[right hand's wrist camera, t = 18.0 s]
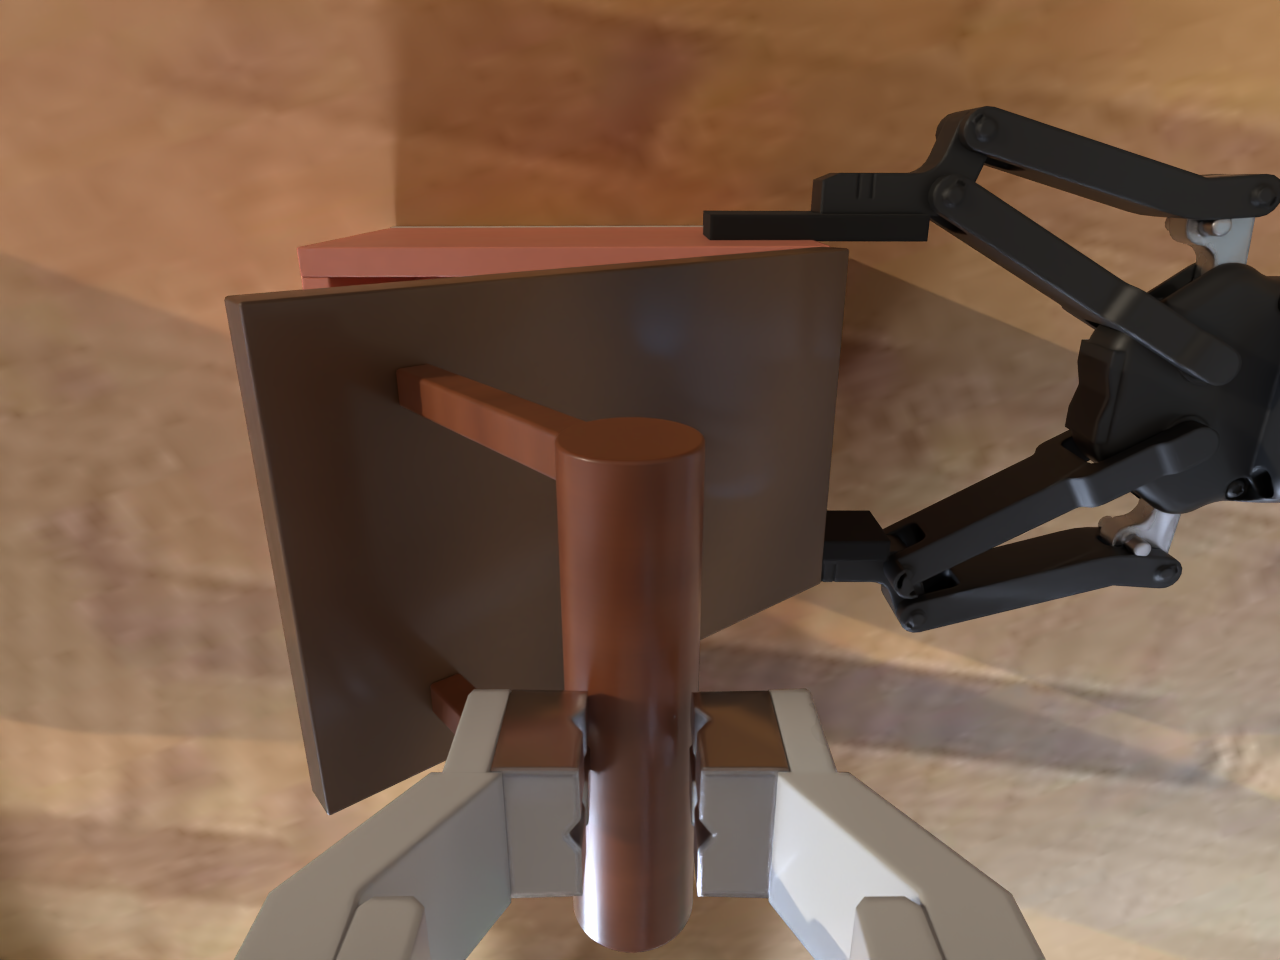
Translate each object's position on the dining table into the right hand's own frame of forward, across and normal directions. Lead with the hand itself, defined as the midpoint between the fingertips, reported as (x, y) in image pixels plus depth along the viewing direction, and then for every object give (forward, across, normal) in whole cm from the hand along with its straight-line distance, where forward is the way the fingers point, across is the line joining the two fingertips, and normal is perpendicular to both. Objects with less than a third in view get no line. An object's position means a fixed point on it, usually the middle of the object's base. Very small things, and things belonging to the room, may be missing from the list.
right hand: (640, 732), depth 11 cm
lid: (+9, +1, 0) cm, 9 cm away
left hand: (+18, -2, 0) cm, 18 cm away
